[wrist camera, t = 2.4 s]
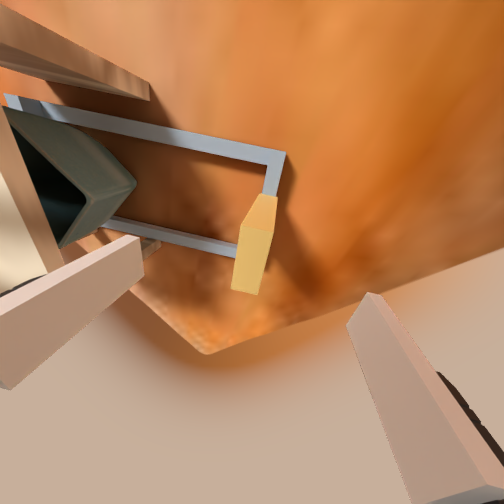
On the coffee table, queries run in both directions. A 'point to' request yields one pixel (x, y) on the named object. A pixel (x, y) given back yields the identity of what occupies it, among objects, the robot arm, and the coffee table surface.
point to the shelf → (8, 154)
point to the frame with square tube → (264, 208)
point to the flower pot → (69, 175)
